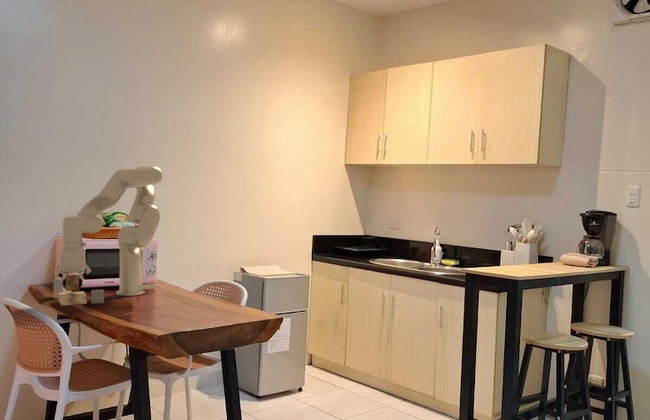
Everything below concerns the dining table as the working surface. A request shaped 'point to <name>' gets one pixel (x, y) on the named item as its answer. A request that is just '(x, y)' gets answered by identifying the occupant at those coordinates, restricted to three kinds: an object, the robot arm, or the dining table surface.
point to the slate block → (97, 296)
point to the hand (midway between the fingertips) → (72, 287)
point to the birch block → (72, 298)
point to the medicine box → (59, 288)
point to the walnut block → (72, 282)
